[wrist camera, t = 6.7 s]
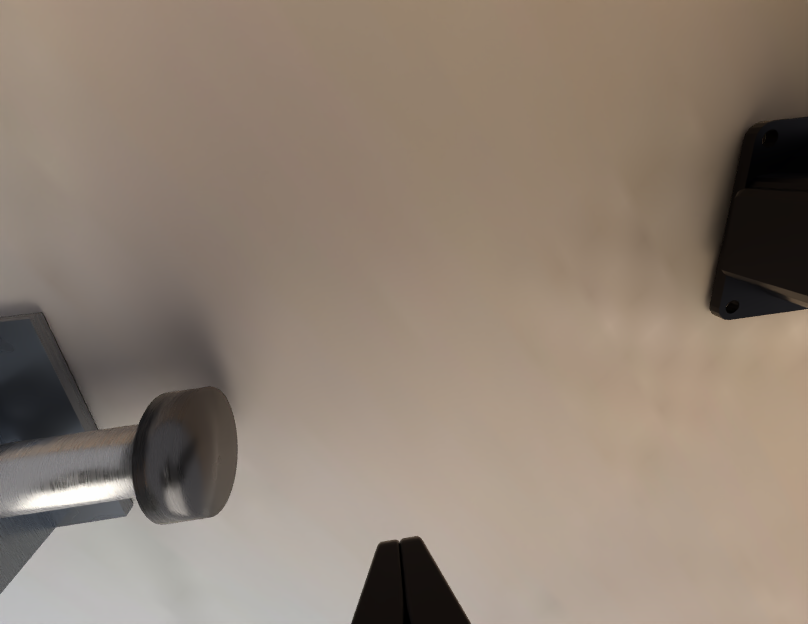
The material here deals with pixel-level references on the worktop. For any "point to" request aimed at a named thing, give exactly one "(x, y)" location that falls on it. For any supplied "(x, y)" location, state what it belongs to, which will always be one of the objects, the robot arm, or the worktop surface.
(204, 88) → the worktop surface
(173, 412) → the pin
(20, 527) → the bracket
